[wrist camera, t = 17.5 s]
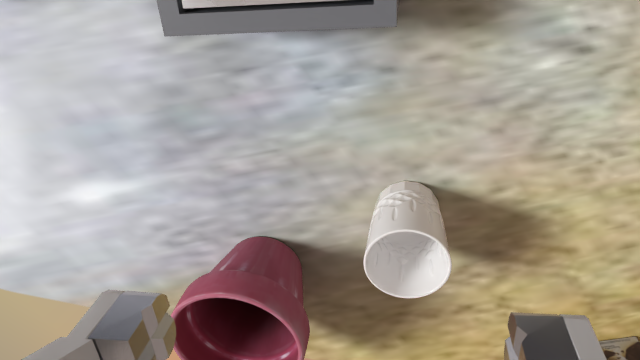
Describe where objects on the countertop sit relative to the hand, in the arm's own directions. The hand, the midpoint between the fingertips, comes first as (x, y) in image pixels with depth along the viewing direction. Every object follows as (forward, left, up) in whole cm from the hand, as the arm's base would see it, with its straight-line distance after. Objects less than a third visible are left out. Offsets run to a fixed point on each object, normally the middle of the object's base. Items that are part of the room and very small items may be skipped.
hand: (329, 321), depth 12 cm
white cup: (-2, +20, -37) cm, 42 cm away
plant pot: (+15, +29, -37) cm, 50 cm away
